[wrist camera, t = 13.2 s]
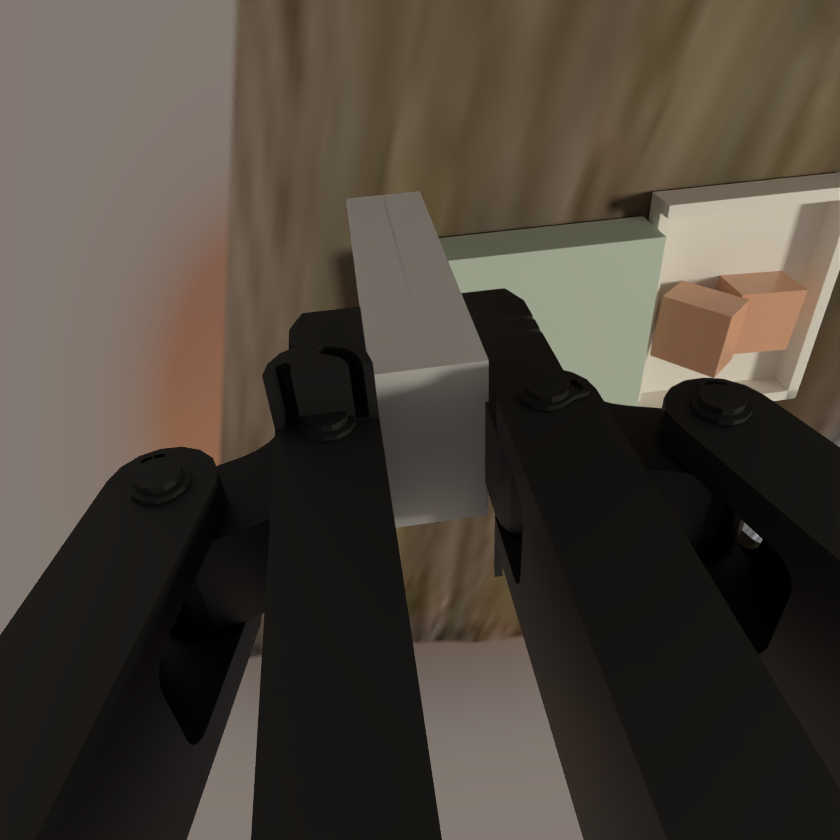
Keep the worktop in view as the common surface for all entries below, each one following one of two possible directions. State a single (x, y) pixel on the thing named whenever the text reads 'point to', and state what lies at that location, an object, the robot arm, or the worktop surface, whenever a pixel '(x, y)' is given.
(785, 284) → the tile far
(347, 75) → the worktop surface
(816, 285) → the tray
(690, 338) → the tile near
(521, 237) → the board
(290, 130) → the worktop surface
